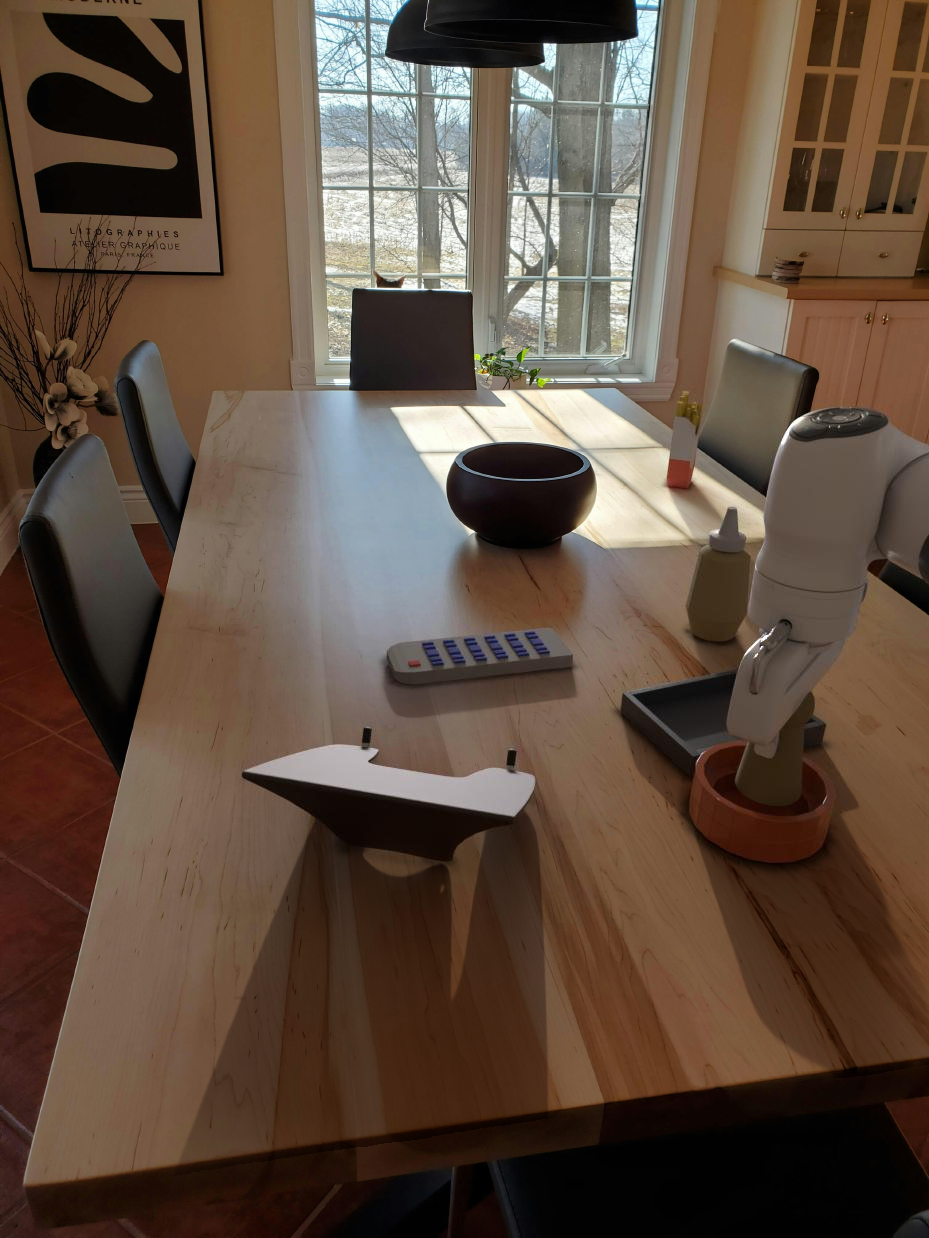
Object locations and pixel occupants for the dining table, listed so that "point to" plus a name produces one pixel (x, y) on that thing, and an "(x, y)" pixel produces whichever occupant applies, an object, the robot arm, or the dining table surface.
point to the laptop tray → (394, 798)
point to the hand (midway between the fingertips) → (777, 738)
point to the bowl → (758, 810)
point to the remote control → (478, 656)
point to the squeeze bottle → (720, 583)
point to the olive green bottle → (777, 763)
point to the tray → (692, 717)
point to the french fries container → (684, 443)
